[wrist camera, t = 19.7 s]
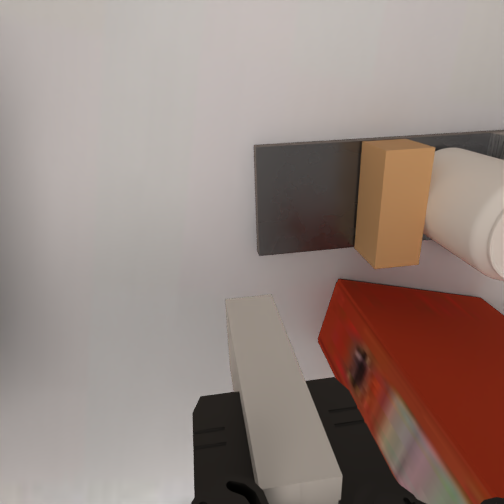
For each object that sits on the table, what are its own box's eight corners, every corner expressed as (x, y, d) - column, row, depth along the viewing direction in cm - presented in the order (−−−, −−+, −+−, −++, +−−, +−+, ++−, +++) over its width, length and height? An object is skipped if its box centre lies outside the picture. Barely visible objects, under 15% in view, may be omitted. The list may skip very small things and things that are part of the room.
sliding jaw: (354, 248, 39) (374, 269, 35) (362, 141, 35) (386, 150, 31) (393, 244, 40) (418, 264, 35) (406, 138, 36) (435, 147, 31)
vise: (257, 250, 39) (269, 280, 34) (253, 145, 35) (266, 158, 30) (503, 227, 43) (551, 251, 37) (525, 128, 38) (584, 138, 33)
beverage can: (473, 131, 37) (595, 156, 26) (484, 210, 40) (595, 262, 29) (389, 167, 37) (475, 207, 26) (407, 243, 40) (490, 306, 29)
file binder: (451, 355, 49) (843, 769, 20) (316, 342, 45) (557, 833, 16) (479, 296, 46) (987, 682, 17) (337, 277, 42) (679, 734, 13)
